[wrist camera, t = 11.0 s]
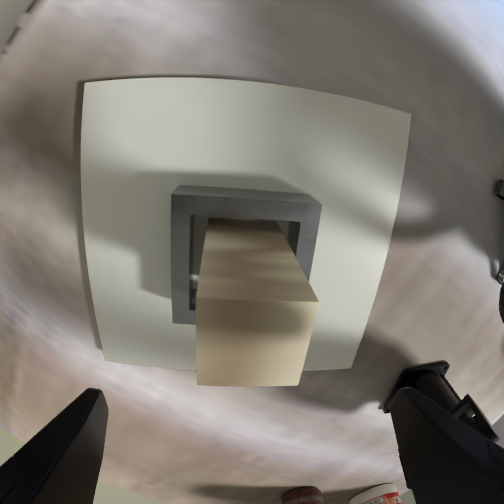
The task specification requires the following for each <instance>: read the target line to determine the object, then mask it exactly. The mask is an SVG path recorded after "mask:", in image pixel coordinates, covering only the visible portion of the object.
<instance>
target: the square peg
mask: <svg viewBox="0 0 504 504" xmlns="http://www.w3.org/2000/svg"><path fill="white" fill-rule="evenodd" d="M318 304H319V301H318V299H317V297H316V295H315V293H314V291H313V289H312V287H311V285H310V283H309V281H308V280H307V278H306V276H305V274H304V272H303V270H302V268H301V266H300V264H299V262H298V260H297V259H296V257H295V255H294V253H293V251H292V249H291V247H290V245H289V244H288V242H287V240H286V238H285V236H284V234H283V232H282V231H281V229H280V227H279V225H278V223H277V222H272V221H257V220H241V219H224V218H208V224H207V230H206V236H205V242H204V248H203V254H202V261H201V267H200V273H199V280H198V287H197V294H196V366H197V385H209V386H296V385H298V384H299V381H300V377H301V373H302V370H303V366H304V362H305V358H306V354H307V350H308V346H309V342H310V338H311V334H312V330H313V326H314V322H315V317H316V313H317V309H318Z"/></svg>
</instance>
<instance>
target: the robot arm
mask: <svg viewBox="0 0 504 504" xmlns="http://www.w3.org/2000/svg"><path fill="white" fill-rule="evenodd" d="M449 366H450V365H449V364H448V363H447V362H445V363H439V364H434V365H429V366H423V367H417V368H410V369H406V370H404V371H403V372H402V374H401V376H400V378H399V380H398V382H397V384H396V386H395V388H394V390H393V391H392V393H391V395H390V397H389V399H388V401H387V403H386V404H385V406H384V408H383V412H384V413H385V414H386V413H391V417H392V421H393V426H394V430H395V434H396V439H397V443H398V447H399V448H398V451H399V454H400V455H399V457H400V461H401V465H402V468H403V472H404V476H405V480H406V486H407V488H408V489H412V492H413V495H414V498H415V501H416V504H504V448H502V447H500V446H499V445H497V444H496V442H497V441H499V437H498V435H497V434H496V432H495V430H494V429H493V427H492V426H491V424H490V422H489V421H488V419H487V418H486V416H485V415H484V414H483V412H482V411H481V409H480V408H479V407H478V405H477V404H476V403H475V402H474V400H473V399H472V398H471V397H470V396H469V394H467V395H466V396H465V397H464V399H462V400H461V399H460V398H459V396H458V395H457V393H456V392H455V391H454V389H453V388H452V386H451V385H450V384H449V382H448V381H447V379H446V378H445V377H444V376H445V374H446V372H447V370H448V368H449ZM474 414H475V416H474V417H471V416H473V415H474ZM107 420H108V406H107V403H106V400H105V397H104V394H103V392H102V390H100V389H95V388H88V389H86V390H85V391H84V392H83V393H82V394H80V395H79V396H78V397H77V398H76V399H75V400H74V401H73V402H72V403H70V404H69V405H68V406H67V407H66V408H65V409H64V410H63V411H62V412H60V413H59V414H58V415H57V416H56V417H55V418H54V419H53V420H52V421H50V422H49V423H48V424H47V425H46V426H45V427H44V428H43V429H42V430H40V431H39V432H38V433H37V434H36V435H35V436H34V437H33V438H32V439H30V440H29V441H28V442H27V443H26V444H25V445H24V446H23V447H22V448H21V449H20V450H18V451H17V452H16V453H15V454H14V455H13V456H12V457H11V458H9V459H8V460H7V461H6V462H5V463H4V464H3V465H1V466H0V504H93V499H94V495H95V490H96V485H97V481H98V476H99V472H100V467H101V463H102V458H103V452H104V443H105V435H106V427H107Z"/></svg>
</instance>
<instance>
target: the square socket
mask: <svg viewBox="0 0 504 504" xmlns="http://www.w3.org/2000/svg"><path fill="white" fill-rule="evenodd" d="M321 209H322V204H321V203H319V202H318V201H317V200H316V199H315V198H313V197H312V196H311V195H309V194H299V193H289V192H278V191H266V190H253V189H240V188H225V187H208V186H188V185H178V186H177V187H176V189H175V190H174V191H173V192H172V194H171V233H170V250H171V299H172V322H173V323H175V324H190V325H196V294H197V289H193V243H194V215H208V216H225V217H241V218H256V219H270V220H284V221H290V222H289V229H288V236H287V242H288V244H289V245H290V247H291V249H292V251H293V253H294V255H295V257H296V259H297V260H298V262H299V264H300V266H301V268H302V270H303V272H304V274H305V276H306V278H307V280H308V281H309V278H310V273H311V268H312V262H313V257H314V251H315V246H316V240H317V234H318V228H319V222H320V216H321Z"/></svg>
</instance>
